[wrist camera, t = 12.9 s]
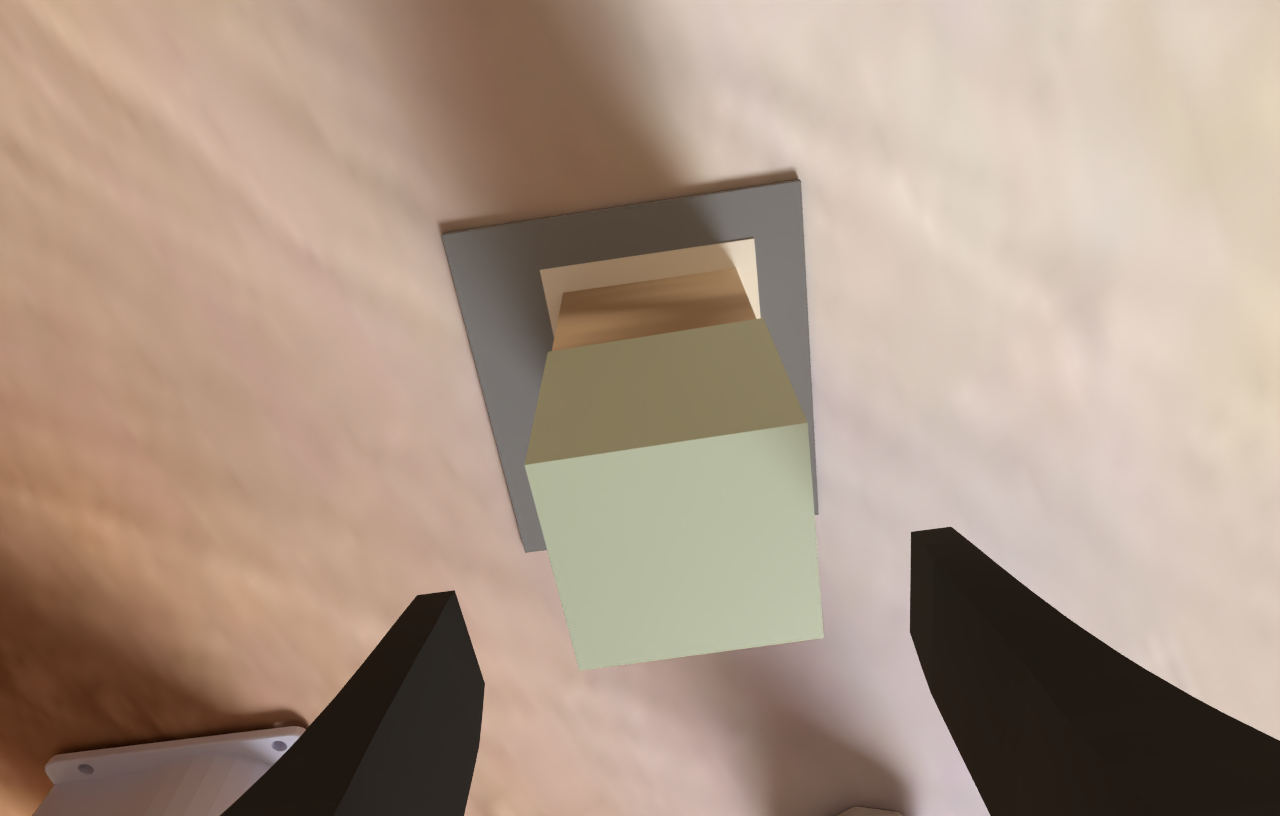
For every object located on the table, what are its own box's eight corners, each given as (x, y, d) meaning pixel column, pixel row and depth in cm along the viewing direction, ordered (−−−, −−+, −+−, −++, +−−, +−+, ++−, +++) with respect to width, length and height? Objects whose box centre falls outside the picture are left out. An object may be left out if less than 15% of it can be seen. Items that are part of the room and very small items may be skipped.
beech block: (591, 441, 23) (585, 536, 19) (563, 292, 21) (549, 364, 17) (749, 420, 23) (776, 512, 19) (735, 268, 21) (763, 335, 17)
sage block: (589, 526, 19) (579, 670, 15) (547, 351, 17) (524, 465, 13) (780, 498, 19) (823, 637, 15) (763, 317, 17) (807, 422, 13)
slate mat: (525, 548, 25) (524, 553, 25) (443, 232, 20) (441, 235, 20) (817, 510, 25) (818, 515, 24) (799, 179, 20) (800, 181, 20)
